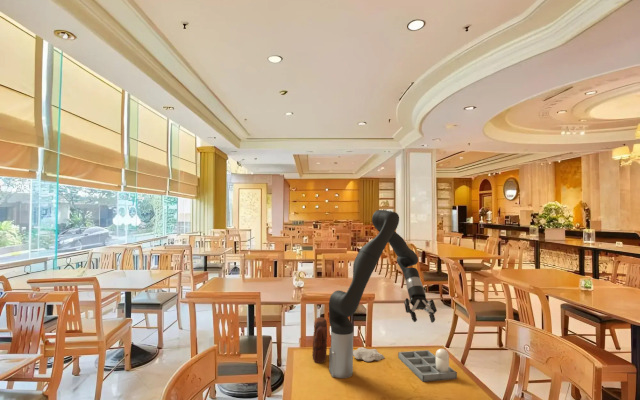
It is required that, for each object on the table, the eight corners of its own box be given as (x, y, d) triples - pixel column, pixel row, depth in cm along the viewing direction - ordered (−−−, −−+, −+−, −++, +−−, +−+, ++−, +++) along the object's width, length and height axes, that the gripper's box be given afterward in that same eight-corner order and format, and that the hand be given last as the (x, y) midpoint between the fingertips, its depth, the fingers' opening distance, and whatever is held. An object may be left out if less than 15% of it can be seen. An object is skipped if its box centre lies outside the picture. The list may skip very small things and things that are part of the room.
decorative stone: (354, 363, 149) (386, 366, 150) (355, 355, 148) (388, 358, 150) (349, 350, 159) (380, 352, 161) (350, 342, 159) (381, 345, 161)
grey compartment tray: (422, 381, 132) (422, 375, 133) (398, 357, 154) (398, 352, 155) (456, 378, 135) (456, 372, 136) (428, 355, 157) (428, 350, 158)
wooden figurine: (312, 352, 159) (312, 314, 159) (325, 352, 159) (326, 314, 160) (312, 363, 147) (313, 322, 148) (327, 363, 147) (328, 322, 148)
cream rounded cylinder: (439, 377, 135) (439, 352, 136) (433, 371, 140) (433, 346, 141) (451, 376, 136) (451, 351, 137) (444, 370, 141) (444, 346, 142)
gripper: (404, 284, 157) (412, 317, 146) (432, 285, 159) (442, 318, 148) (398, 291, 162) (406, 324, 151) (425, 293, 165) (435, 325, 153)
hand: (424, 321), depth 150 cm, fingers open, 8 cm apart
